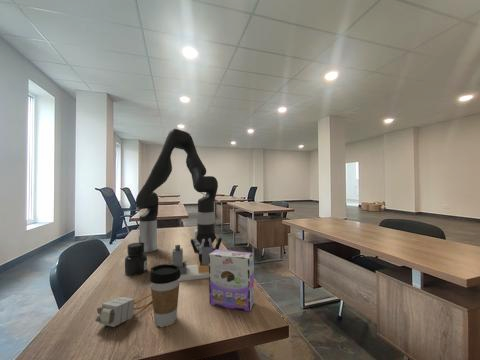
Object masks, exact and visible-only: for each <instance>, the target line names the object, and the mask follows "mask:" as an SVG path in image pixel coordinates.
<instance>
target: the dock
mask: <svg viewBox="0 0 480 360" xmlns="http://www.w3.org/2000/svg"><path fill="white" fill-rule="evenodd" d="M174 246H175V248H173V249H172V255H171V256H172V262H170V263H169V265H176V266H178V267H179V269H180V273H181V274H180V275H181V276H180V278H179V282H182V281H192V280H202V279H203V280H204V279H209V265H205V266H202V263H201V262H200V261H199V260H197V263H196V264H189V265H188V263H187V261H184V250H183V248H182V247H181V244H175V245H174Z"/></svg>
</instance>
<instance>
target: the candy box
mask: <svg viewBox="0 0 480 360" xmlns="http://www.w3.org/2000/svg"><path fill="white" fill-rule="evenodd" d="M254 254H255V253H254V252H249V251H248V252H246V251H236V250H228V249H226V250H225V249H219V250H217V249H216V250H214V251H213V252H212V253H210V254H209V278H208V283H209V285H208V287H209V289H208V290H209V291H208V292H209V295H208V296H209V297H208V298H209V305H210V304H211V306H214V307H215V306H216V307H223V308H227V309H231V310H238V311H244V312H251V310H252V308H253V306H254V304H255V267H254V266H255V264H254V259H255V258H254V256H255V255H254Z"/></svg>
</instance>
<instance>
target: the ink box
mask: <svg viewBox="0 0 480 360" xmlns="http://www.w3.org/2000/svg"><path fill="white" fill-rule="evenodd" d="M193 231H194V236H193V239H194V238H196V236H197V229H194V230H193ZM195 245H196V248H197V249H198V250H199V247H200V243H199V242H198V241H197V240H196V243H195Z"/></svg>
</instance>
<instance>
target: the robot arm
mask: <svg viewBox="0 0 480 360" xmlns="http://www.w3.org/2000/svg"><path fill="white" fill-rule="evenodd" d="M174 149H177V150H178V149H180V150H183V151H184V152H185V153H186V159H185V165H186V167H187V170H188V171H189V173H190V175H191V179H192V185H193V189H194V190H195V191H196V192H197V193H205V195H204V196H203V197H201V198H199V199H198V200H197V218H196V221H197V222H196V224H197V227H196V228H197V229H196V230H197V236H196V238H194V237H193V238H190V244H191V246H192V249H193V251H194V253H195V254H197V255H198V261H200V262H201V263H202V247H203V246H206V245H207V246H210V247H211V253H212V252H213V251H214V250H216V249H217V250H220V246H221V243H222V241H223V240H222V237H221V236H216V225H215V224H216V219H215V218H216V216H215V201H216V196H217V193H218V189H219V182H218V180H217V178H216V177H214V176H213V175H212V176H211V175H209V176H208V175H207V169H206V167H205V165H204V163H203V162H202V160H201V158H200V156H199V154H198V151H197V149H196V146H195V142H194V140H193V137H192V135H191V134H190V133H189V132H187V131H185V130H182V129H178V128H172V129H170V131H168V133H167V136H166V138H165V141H164V144H163V146H162V149H161V152H160V153H159V156H158V158H157V160H156V162H155V164H154V166H153V167H152V169H151V171H150V174H149V176H148V177H147V179H146V181H145V183H144V185H143V186H142V187H141V188H140V190H139V192H138V194H137V196H136V199H135V206H136V207H137V208H138V210H139V209H140V210H145V209H146V211H145V212H143V213H142V214H140V215H139V218H138V219H139V235H138V242H141V243H144V248H145V250H144V253H145V254H146V253H152V252H155V251H157V250H158V219H157V218H158V214H159V196H158V194H157V193H156V192H155V191H156V190H157V189H158V188H160V187H161V186H162V185H163V184H165V183H166V182H167V180H168V179H169V177H170V175H172V172H173V164H172V163H173V162H172V159H171V157H172V153H173V150H174ZM206 175H207V176H206ZM196 240H197V241H198V242H199V243H200V247H199V250H198V249H197V248H196V245H195V243H196ZM214 241H216V244H215V246H214V245H213V243H214Z"/></svg>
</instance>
